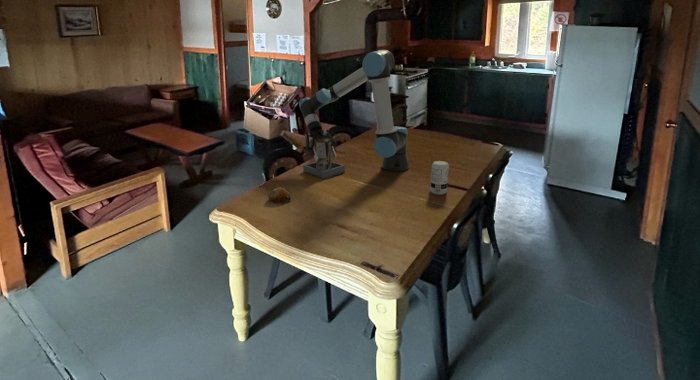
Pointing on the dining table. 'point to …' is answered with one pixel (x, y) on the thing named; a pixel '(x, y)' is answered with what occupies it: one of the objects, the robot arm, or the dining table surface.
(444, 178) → the supplement can
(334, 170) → the tray
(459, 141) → the dining table surface
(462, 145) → the dining table surface
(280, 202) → the bread roll
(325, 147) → the coffee box
